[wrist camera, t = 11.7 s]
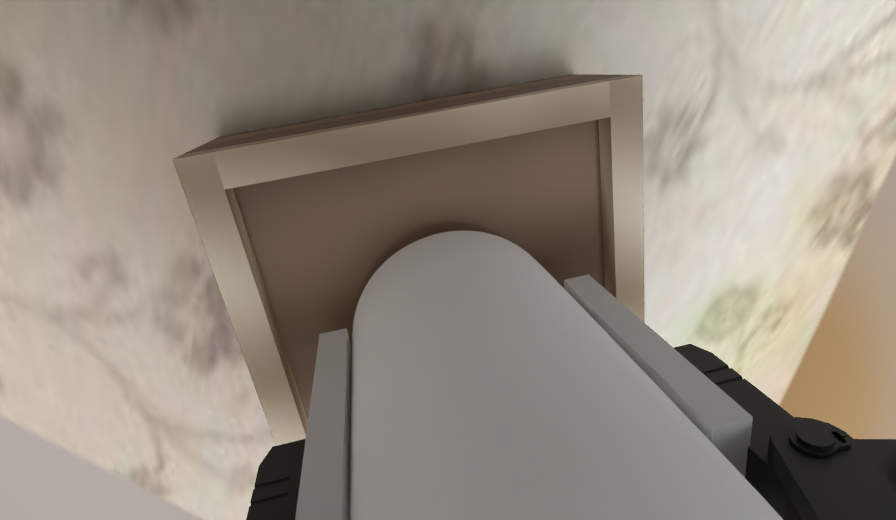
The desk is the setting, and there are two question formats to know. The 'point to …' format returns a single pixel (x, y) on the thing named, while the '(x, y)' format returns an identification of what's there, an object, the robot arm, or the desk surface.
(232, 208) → the wooden tray
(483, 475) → the can
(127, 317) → the desk surface
